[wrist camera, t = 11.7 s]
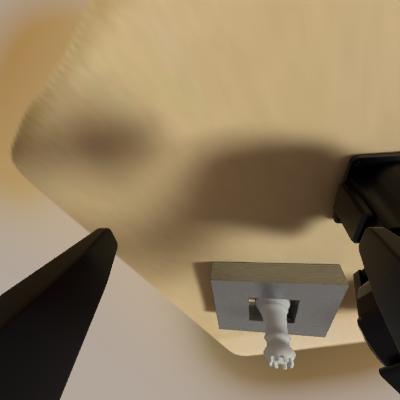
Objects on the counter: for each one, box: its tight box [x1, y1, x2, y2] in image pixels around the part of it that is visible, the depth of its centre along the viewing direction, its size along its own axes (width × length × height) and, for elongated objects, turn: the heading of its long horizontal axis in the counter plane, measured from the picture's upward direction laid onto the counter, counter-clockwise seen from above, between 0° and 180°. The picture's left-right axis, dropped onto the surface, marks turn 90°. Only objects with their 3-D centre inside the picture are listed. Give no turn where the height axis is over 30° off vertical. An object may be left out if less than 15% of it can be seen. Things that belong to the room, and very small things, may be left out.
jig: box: [211, 262, 349, 337], centre depth 28 cm, size 14×12×2 cm
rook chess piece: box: [255, 298, 296, 369], centre depth 26 cm, size 4×4×8 cm
